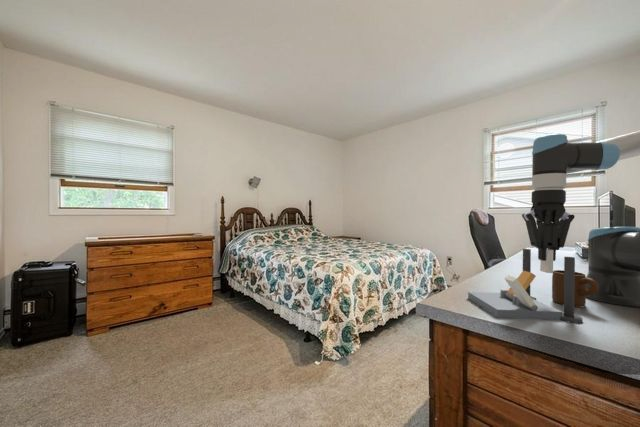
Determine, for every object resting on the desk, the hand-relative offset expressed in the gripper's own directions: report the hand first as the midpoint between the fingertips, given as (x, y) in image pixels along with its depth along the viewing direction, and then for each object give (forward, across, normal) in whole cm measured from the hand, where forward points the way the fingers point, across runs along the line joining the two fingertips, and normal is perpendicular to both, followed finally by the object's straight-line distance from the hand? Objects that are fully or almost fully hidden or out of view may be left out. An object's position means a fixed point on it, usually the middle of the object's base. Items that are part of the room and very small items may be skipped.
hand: (546, 271), depth 78 cm
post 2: (+11, 0, +8) cm, 13 cm away
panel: (+11, +10, 0) cm, 15 cm away
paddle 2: (+8, +9, +7) cm, 14 cm away
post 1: (+11, 0, -8) cm, 13 cm away
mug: (+11, -11, -4) cm, 16 cm away
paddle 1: (+8, +9, 0) cm, 12 cm away
